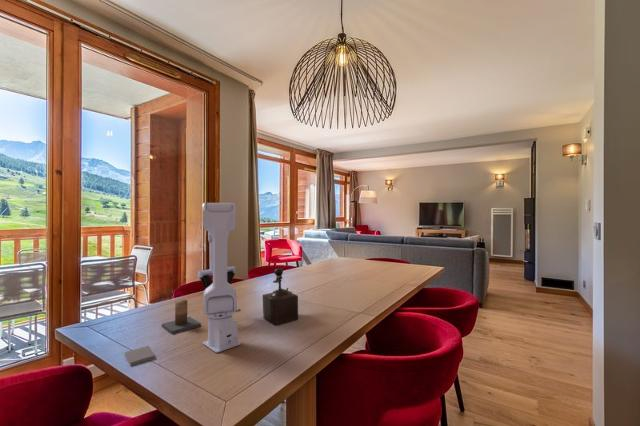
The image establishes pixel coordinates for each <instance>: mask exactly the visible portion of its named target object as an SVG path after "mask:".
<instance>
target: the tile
mask: <svg viewBox="0 0 640 426" xmlns="http://www.w3.org/2000/svg"><path fill="white" fill-rule="evenodd" d="M124 357H125V359H126V361H127V362H128V365H129V366H130V367H132V366H134V365H135V366H136V365H138V364H142V363H145V362H149V361H151V360H155V359H156V354H155V353H154V352H153V350H152V348H151V347H150V346H149V345H146V346H142V347H139V348H134V349H132V350H128V351H125V352H124Z"/></svg>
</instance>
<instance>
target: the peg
mask: <svg viewBox="0 0 640 426" xmlns="http://www.w3.org/2000/svg"><path fill="white" fill-rule="evenodd" d="M174 304H175V305H174V306H175V307H174V312H175V313H174V321H175V325H185V324H187V317H188V300H187V299H177V300H176V301H175V303H174Z"/></svg>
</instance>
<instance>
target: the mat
mask: <svg viewBox="0 0 640 426" xmlns="http://www.w3.org/2000/svg"><path fill="white" fill-rule="evenodd" d="M201 326H202V323H201V322H199V321H198V320H196V319H195V318H192V317H191V316H187V324H185V325H175V320H171V321H167V322H163V323H161V327H162V328H163V329H164V330H165V331H167V332H168V333H169V334H171V335H173V334H177V333H180V332H185V331H188V330H191V329H195V328H199V327H201Z"/></svg>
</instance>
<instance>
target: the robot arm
mask: <svg viewBox="0 0 640 426" xmlns="http://www.w3.org/2000/svg"><path fill="white" fill-rule="evenodd" d="M236 219H237V208H236V203H234V202H203V203H202V226H203V230H204V231H207V235H208V236H207V240H208V244H209V247H208V248H209V269H205V270H201V271H199V270H198V271H197V277H198V278H199V279H200V280H199V281H201V283H202V285H203V288H204V291H203V297H202V298H203V301H202V302H203V304H202V307H203V308H202V309H203V310H202V311H203V316H205V317H207V340H205V341H202V344H203V345H204V346H206V347H208V349H210V350H212V351H213V352H215V353H216V354H217V353H220V352H224V351H226V350H229V349H231V348H234V347H237V346H240V345H241V342H240V341H239V331H238V329H239V326H238V323H237V321H236V320H235V319H234V317H233V316H234V313H236V312H237V311H236V310H237V307H238V298H237V297H238V296H237V289H236V287H235V286H234V285H232V284H231V283H232V281H233V279H234V277H235V275H236V274H235V273H236V266H228V238H229V234H230V232H232V231H234V230H235V229H236V226H237V223H236V222H237V220H236ZM210 276H212V277H210ZM211 282H212V283H211ZM235 311H236V312H235Z"/></svg>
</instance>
